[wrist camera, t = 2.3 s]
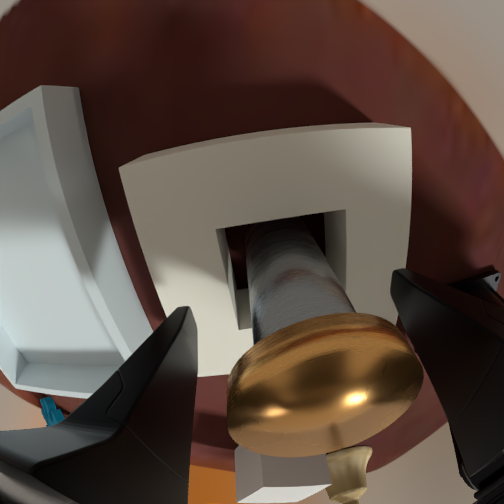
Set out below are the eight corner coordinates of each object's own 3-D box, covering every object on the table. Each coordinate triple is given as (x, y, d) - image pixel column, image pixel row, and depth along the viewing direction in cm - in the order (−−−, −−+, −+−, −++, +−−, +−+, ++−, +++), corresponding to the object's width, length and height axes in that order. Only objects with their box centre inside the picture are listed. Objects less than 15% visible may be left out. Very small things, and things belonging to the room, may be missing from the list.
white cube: (257, 423, 21) (263, 487, 15) (319, 427, 22) (332, 483, 17) (234, 449, 23) (236, 502, 18) (289, 453, 24) (297, 502, 19)
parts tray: (78, 87, 9) (40, 85, 7) (168, 362, 17) (160, 401, 14) (-56, 174, 10) (-84, 189, 7) (29, 362, 17) (15, 388, 14)
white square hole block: (374, 122, 11) (410, 127, 8) (371, 306, 15) (392, 341, 13) (144, 154, 11) (118, 167, 8) (197, 336, 16) (193, 377, 13)
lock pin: (320, 188, 12) (446, 321, 4) (325, 273, 14) (398, 432, 6) (220, 203, 12) (201, 374, 4) (238, 288, 14) (246, 465, 6)
